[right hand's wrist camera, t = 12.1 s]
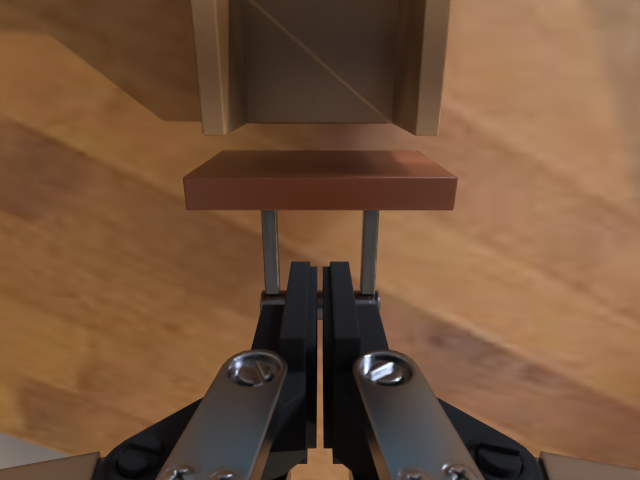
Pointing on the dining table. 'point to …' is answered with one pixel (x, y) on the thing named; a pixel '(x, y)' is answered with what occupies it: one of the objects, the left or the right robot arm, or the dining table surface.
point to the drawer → (320, 112)
